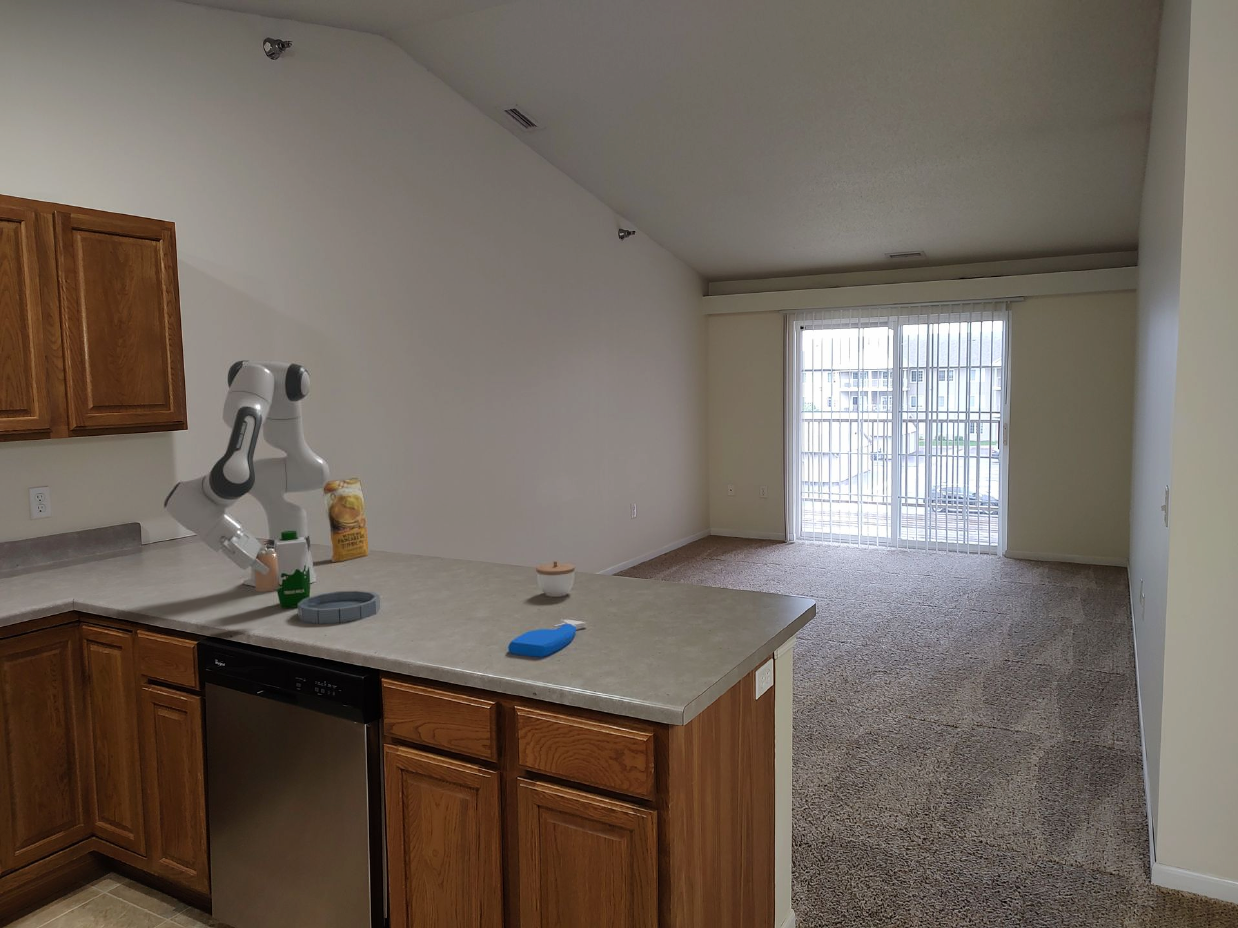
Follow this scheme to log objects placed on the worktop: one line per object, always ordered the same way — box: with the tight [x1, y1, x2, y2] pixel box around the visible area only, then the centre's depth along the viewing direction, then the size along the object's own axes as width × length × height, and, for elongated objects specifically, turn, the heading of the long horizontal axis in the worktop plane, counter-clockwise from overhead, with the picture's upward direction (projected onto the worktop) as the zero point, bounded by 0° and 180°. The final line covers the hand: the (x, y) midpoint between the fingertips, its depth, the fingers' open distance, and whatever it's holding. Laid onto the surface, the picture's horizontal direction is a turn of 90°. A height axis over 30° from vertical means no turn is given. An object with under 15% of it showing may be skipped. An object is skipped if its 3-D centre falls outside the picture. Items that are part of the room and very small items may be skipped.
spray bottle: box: [507, 619, 587, 658], centre depth 193 cm, size 3×11×24 cm
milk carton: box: [274, 531, 311, 610], centre depth 231 cm, size 9×9×20 cm
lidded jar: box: [535, 560, 576, 598], centre depth 236 cm, size 11×11×9 cm
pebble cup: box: [254, 547, 279, 592], centre depth 213 cm, size 6×6×10 cm
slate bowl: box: [297, 590, 381, 625], centre depth 222 cm, size 20×20×4 cm
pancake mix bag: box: [322, 477, 370, 563], centre depth 295 cm, size 7×19×28 cm, turn 149°
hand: (268, 569), depth 213 cm, fingers closed on pebble cup, 6 cm apart
